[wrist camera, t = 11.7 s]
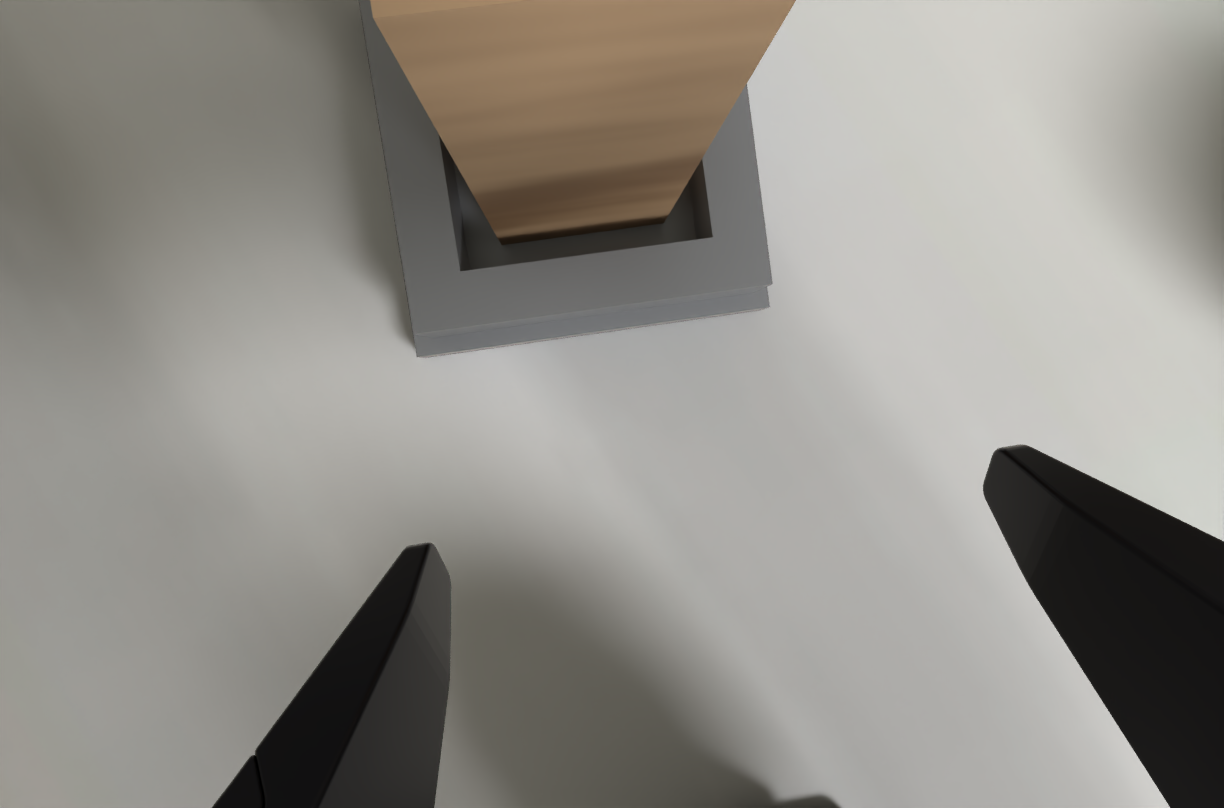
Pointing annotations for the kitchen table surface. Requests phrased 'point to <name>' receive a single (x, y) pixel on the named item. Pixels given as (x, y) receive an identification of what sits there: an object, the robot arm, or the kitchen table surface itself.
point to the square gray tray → (561, 241)
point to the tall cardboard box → (577, 99)
